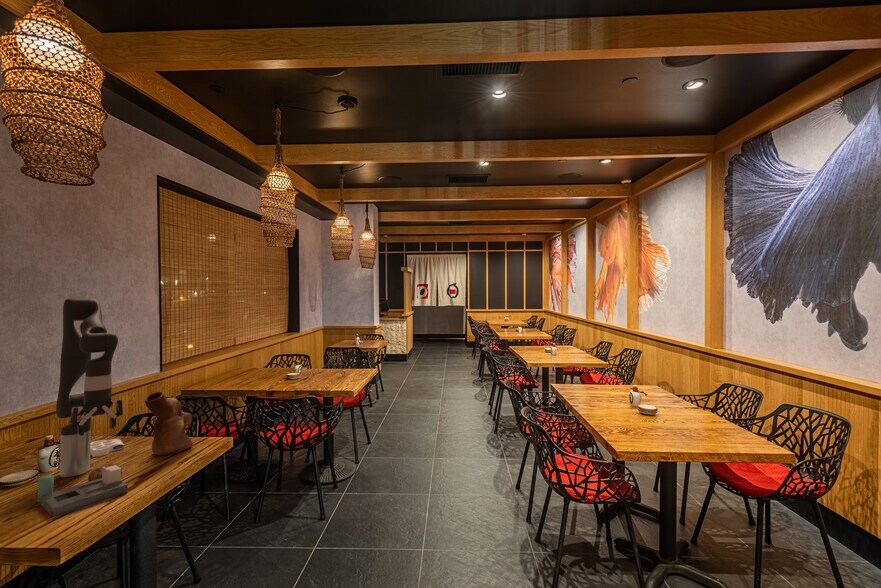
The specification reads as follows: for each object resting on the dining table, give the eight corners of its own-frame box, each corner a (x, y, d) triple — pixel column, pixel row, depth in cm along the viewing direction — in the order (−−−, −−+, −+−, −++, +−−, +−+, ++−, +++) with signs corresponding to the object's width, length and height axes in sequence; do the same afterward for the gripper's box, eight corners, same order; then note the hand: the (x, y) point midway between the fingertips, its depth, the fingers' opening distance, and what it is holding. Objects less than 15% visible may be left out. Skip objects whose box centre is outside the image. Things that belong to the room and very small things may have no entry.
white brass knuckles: (125, 451, 186) (84, 460, 175) (119, 442, 198) (81, 450, 188) (125, 444, 186) (84, 452, 175) (119, 436, 198) (81, 443, 188)
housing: (40, 504, 135) (40, 493, 135) (111, 482, 152) (112, 472, 152) (53, 517, 126) (53, 506, 126) (127, 492, 143) (127, 482, 143)
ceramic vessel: (199, 445, 191) (200, 386, 192) (158, 463, 170) (158, 396, 171) (175, 443, 195) (175, 384, 196) (131, 460, 174) (132, 394, 175)
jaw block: (101, 481, 145) (102, 467, 145) (115, 477, 149) (115, 463, 149) (107, 485, 142) (107, 470, 142) (120, 481, 145) (121, 466, 145)
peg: (36, 500, 138) (36, 478, 138) (51, 495, 141) (52, 473, 142) (39, 503, 136) (39, 480, 136) (54, 498, 139) (55, 476, 139)
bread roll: (101, 483, 159) (91, 467, 158) (128, 469, 162) (119, 453, 161) (89, 494, 149) (78, 477, 148) (118, 479, 153) (108, 462, 152)
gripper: (118, 382, 147) (117, 424, 147) (68, 389, 135) (67, 435, 134) (126, 385, 143) (125, 428, 143) (75, 392, 131) (74, 439, 131)
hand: (97, 431), depth 139 cm, fingers open, 8 cm apart
